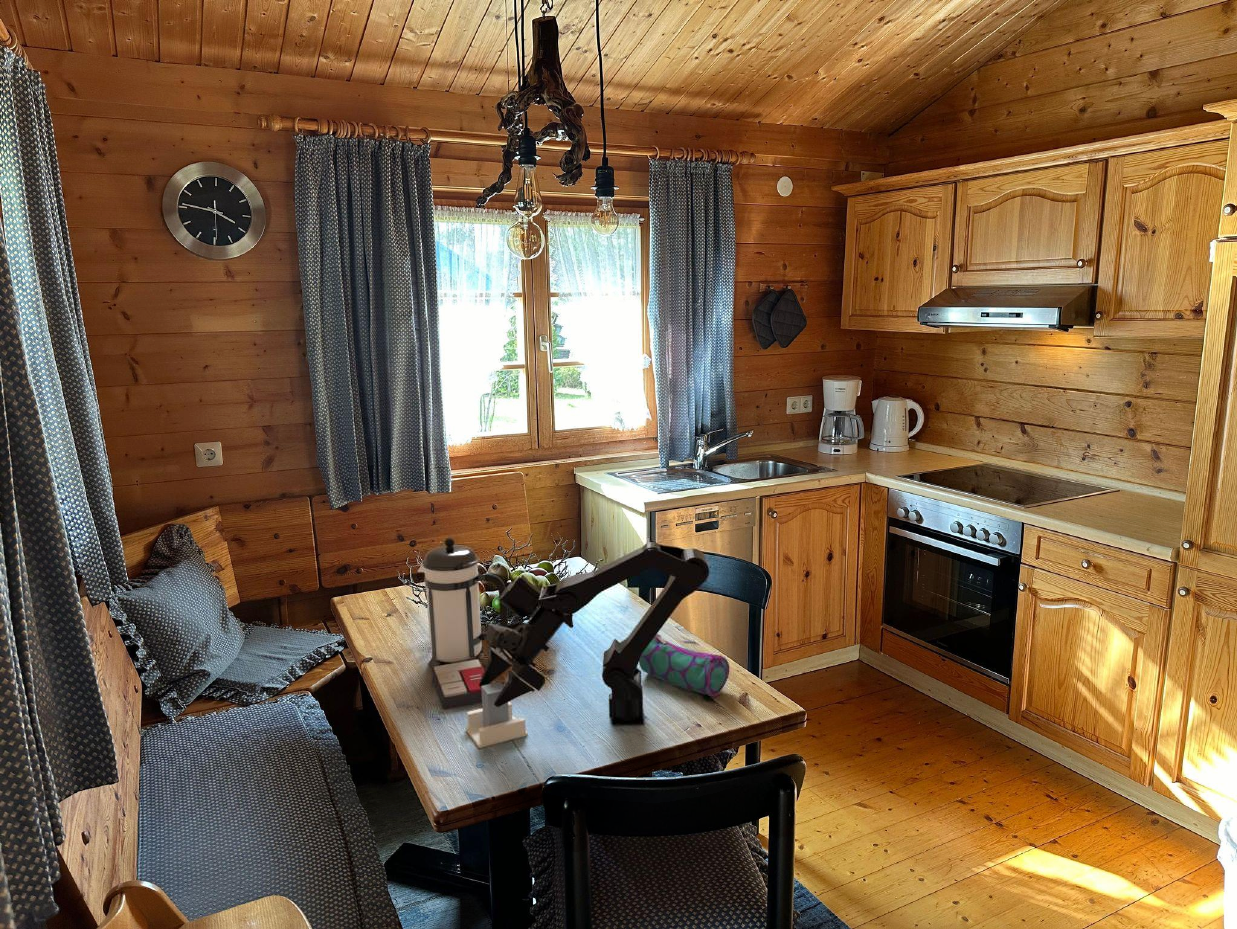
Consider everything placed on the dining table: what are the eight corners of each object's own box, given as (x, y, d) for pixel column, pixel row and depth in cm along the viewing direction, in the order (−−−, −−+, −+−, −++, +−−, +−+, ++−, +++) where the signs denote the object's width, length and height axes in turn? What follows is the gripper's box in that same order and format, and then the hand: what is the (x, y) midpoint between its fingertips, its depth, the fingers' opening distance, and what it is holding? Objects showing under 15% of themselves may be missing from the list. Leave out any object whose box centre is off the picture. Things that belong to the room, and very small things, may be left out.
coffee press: (448, 680, 198) (439, 552, 192) (413, 658, 209) (404, 537, 203) (511, 657, 209) (505, 536, 203) (475, 638, 221) (468, 523, 215)
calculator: (442, 695, 183) (431, 664, 197) (443, 714, 184) (432, 681, 198) (494, 686, 187) (479, 656, 200) (495, 704, 188) (480, 673, 201)
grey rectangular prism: (502, 723, 176) (500, 681, 174) (509, 732, 173) (507, 689, 171) (483, 728, 174) (481, 686, 173) (490, 736, 171) (487, 694, 169)
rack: (512, 717, 180) (511, 701, 179) (528, 736, 172) (527, 719, 171) (465, 729, 175) (464, 712, 175) (479, 749, 168) (478, 731, 167)
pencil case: (633, 677, 197) (633, 637, 195) (659, 664, 204) (658, 625, 202) (708, 705, 183) (708, 662, 182) (733, 690, 190) (733, 649, 188)
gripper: (493, 595, 179) (444, 657, 176) (526, 625, 162) (472, 694, 160) (531, 624, 184) (483, 685, 181) (567, 656, 167) (515, 724, 165)
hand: (487, 696), depth 172 cm, fingers open, 9 cm apart
